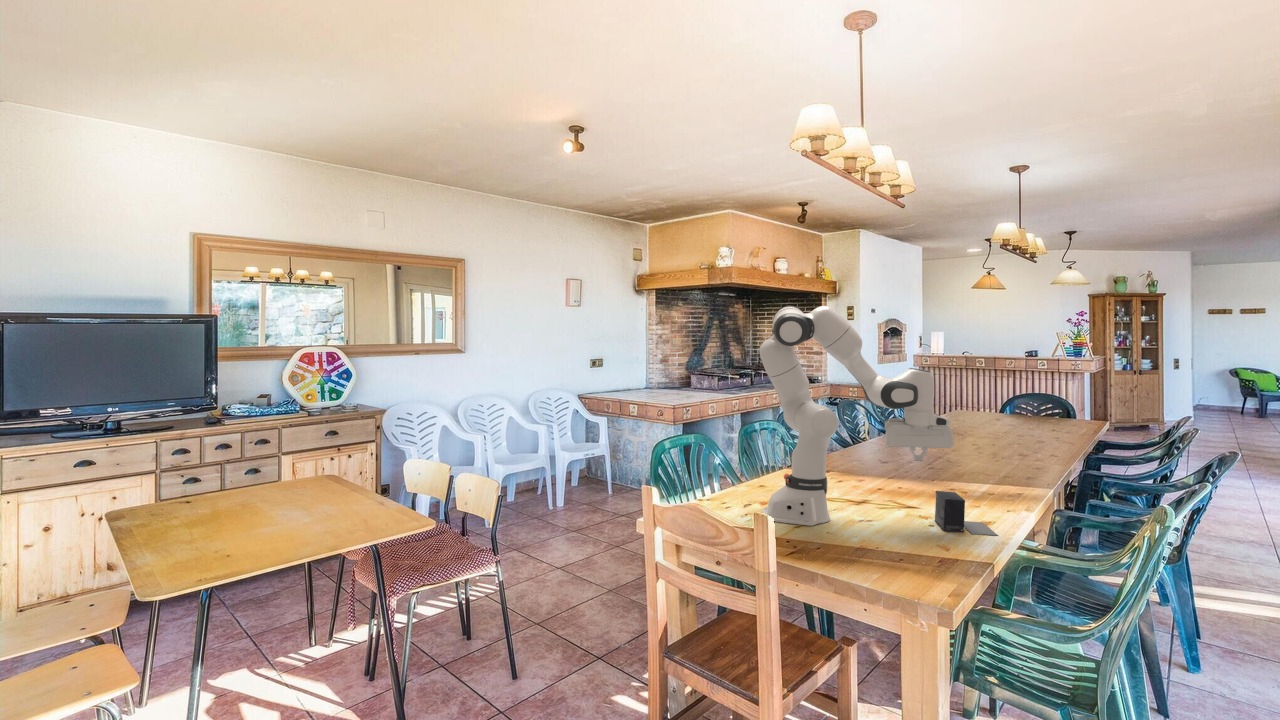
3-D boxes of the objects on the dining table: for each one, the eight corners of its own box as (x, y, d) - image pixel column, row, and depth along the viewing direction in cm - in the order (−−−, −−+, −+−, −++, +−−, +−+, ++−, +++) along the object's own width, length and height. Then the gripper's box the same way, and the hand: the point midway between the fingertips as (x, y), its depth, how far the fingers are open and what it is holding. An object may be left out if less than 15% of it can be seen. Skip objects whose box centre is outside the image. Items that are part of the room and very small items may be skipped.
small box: (965, 533, 190) (966, 499, 190) (943, 531, 191) (943, 498, 191) (955, 522, 200) (956, 491, 200) (933, 521, 202) (934, 490, 201)
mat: (971, 534, 189) (971, 533, 189) (957, 521, 201) (957, 520, 201) (997, 535, 187) (997, 535, 187) (982, 523, 200) (982, 522, 200)
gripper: (886, 419, 195) (886, 461, 196) (955, 420, 191) (954, 464, 192) (882, 416, 201) (882, 457, 202) (949, 417, 197) (948, 459, 198)
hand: (918, 461), depth 197 cm, fingers closed
